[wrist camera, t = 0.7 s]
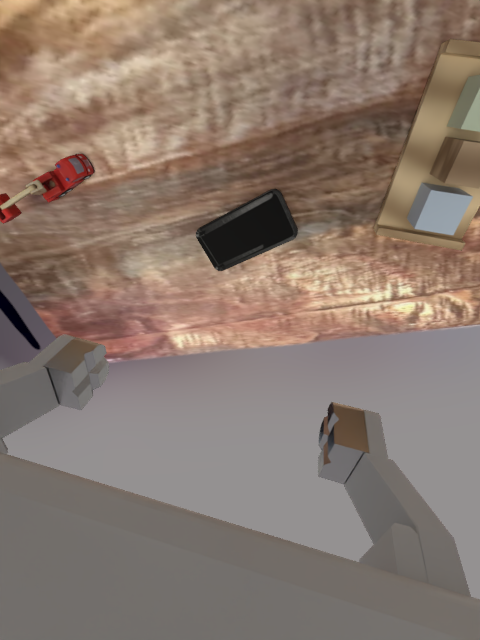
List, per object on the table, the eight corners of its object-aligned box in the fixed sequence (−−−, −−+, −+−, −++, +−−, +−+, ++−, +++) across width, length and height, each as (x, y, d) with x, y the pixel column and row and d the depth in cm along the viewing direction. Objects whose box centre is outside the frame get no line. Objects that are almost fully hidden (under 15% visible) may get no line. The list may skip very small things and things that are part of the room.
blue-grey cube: (421, 182, 39) (431, 190, 36) (459, 188, 39) (473, 196, 35) (406, 218, 42) (414, 228, 38) (442, 224, 41) (453, 235, 38)
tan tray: (439, 44, 34) (467, 29, 27) (550, 57, 33) (606, 44, 26) (372, 226, 45) (381, 246, 39) (452, 241, 44) (474, 264, 38)
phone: (193, 232, 50) (277, 187, 44) (195, 229, 51) (278, 185, 45) (217, 273, 54) (299, 237, 47) (219, 270, 54) (300, 234, 48)
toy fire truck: (98, 171, 49) (55, 183, 41) (45, 208, 55) (-1, 225, 47) (84, 150, 48) (37, 158, 40) (31, 190, 54) (-19, 204, 46)
